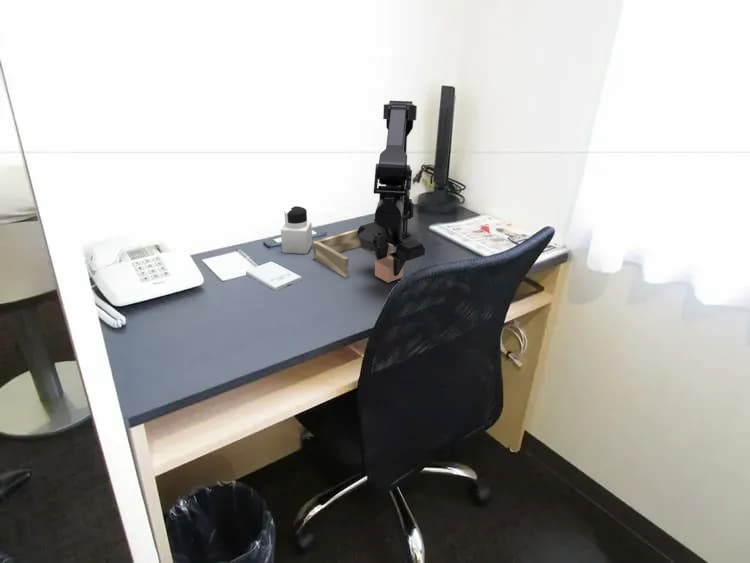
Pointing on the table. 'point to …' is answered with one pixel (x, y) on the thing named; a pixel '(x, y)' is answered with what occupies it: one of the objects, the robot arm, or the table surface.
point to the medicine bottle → (296, 231)
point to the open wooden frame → (338, 251)
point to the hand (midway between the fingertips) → (388, 271)
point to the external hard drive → (273, 275)
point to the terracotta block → (386, 269)
